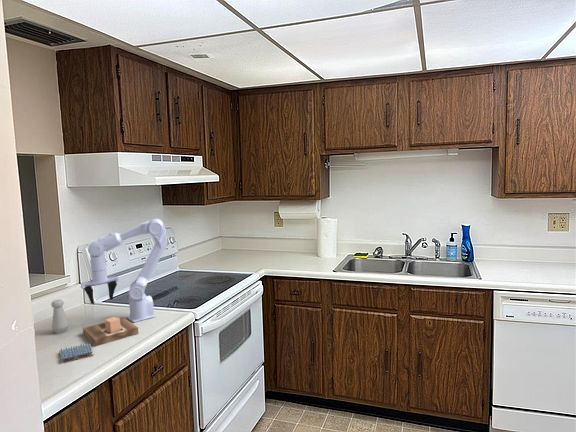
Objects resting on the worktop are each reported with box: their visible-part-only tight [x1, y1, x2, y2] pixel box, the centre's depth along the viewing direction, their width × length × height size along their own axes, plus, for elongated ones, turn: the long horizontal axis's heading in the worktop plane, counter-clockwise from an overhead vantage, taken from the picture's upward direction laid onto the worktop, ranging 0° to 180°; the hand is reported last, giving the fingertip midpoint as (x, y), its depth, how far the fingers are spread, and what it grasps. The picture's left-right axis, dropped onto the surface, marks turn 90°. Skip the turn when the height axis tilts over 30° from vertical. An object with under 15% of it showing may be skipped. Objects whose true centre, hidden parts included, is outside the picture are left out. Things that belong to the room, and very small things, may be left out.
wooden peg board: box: [82, 317, 140, 347], centre depth 167 cm, size 16×16×3 cm
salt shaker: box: [50, 299, 69, 334], centre depth 171 cm, size 6×6×13 cm
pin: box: [104, 316, 121, 334], centre depth 164 cm, size 4×4×7 cm
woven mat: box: [58, 343, 95, 364], centre depth 150 cm, size 10×11×2 cm
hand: (101, 301), depth 179 cm, fingers open, 7 cm apart
